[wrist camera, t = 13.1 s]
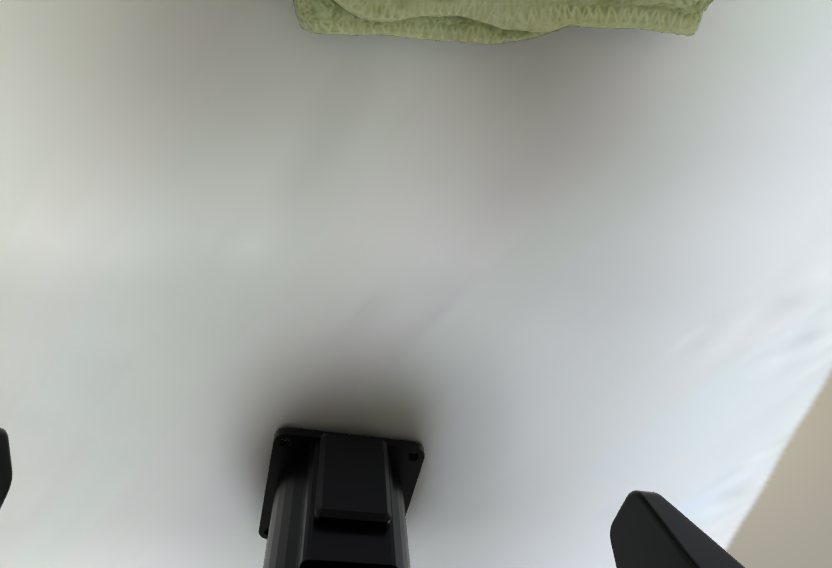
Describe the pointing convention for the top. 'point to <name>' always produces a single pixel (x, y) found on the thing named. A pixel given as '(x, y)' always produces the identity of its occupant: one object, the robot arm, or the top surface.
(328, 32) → the washcloth
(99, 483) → the top surface
